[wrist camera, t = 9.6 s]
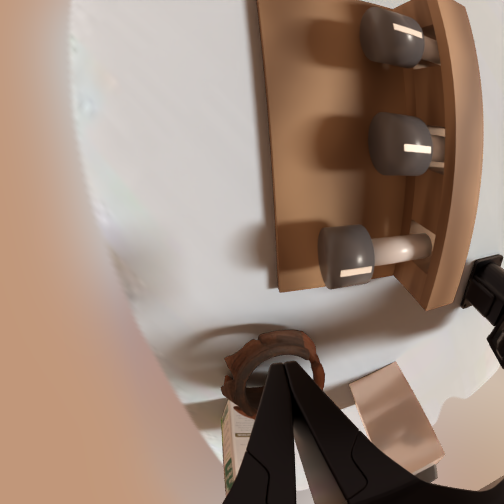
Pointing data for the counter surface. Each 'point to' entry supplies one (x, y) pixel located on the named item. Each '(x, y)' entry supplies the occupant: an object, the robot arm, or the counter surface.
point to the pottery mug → (258, 353)
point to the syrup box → (234, 441)
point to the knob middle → (403, 145)
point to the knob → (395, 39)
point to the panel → (356, 139)
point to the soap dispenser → (397, 421)
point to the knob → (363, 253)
